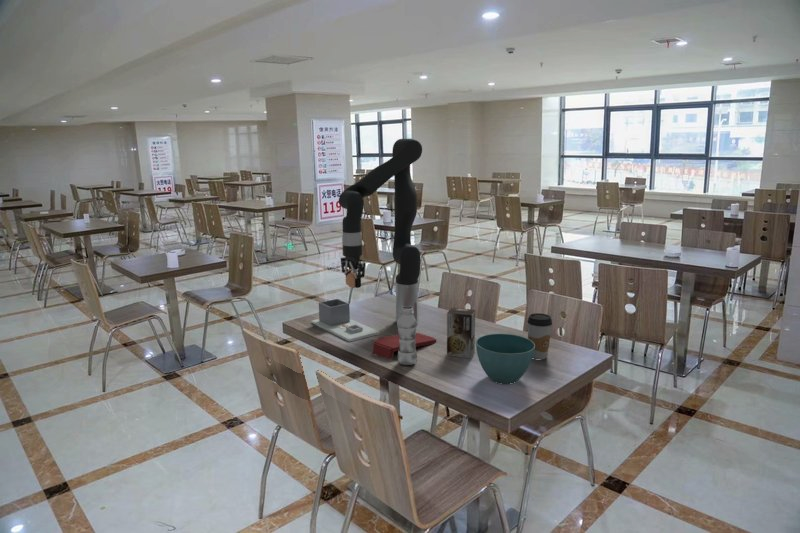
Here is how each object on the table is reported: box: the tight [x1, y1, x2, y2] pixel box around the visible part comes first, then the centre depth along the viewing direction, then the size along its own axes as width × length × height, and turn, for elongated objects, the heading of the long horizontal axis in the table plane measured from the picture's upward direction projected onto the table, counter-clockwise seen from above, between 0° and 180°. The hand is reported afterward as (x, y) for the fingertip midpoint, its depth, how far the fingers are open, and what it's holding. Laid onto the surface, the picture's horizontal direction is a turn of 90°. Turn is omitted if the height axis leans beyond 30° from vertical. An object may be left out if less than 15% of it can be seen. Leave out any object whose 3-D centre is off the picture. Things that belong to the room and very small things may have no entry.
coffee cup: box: [527, 312, 553, 360], centre depth 193 cm, size 8×8×15 cm
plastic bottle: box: [396, 306, 418, 366], centre depth 187 cm, size 6×7×20 cm
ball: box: [345, 272, 358, 288], centre depth 215 cm, size 6×6×6 cm
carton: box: [372, 332, 437, 360], centre depth 205 cm, size 12×5×25 cm
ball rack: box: [311, 298, 380, 342], centre depth 224 cm, size 29×14×9 cm, turn 38°
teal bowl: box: [475, 333, 535, 385], centre depth 175 cm, size 18×18×12 cm
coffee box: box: [446, 307, 476, 359], centre depth 196 cm, size 9×6×16 cm
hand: (353, 285), depth 215 cm, fingers closed on ball, 6 cm apart
